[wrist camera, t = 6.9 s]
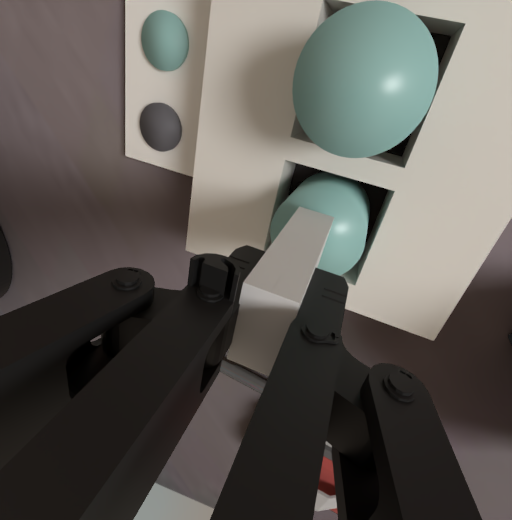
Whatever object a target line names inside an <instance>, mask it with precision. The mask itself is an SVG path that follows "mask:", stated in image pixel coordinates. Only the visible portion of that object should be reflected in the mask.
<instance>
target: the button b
mask: <svg viewBox="0 0 512 520" xmlns="http://www.w3.org/2000/svg"><path fill="white" fill-rule="evenodd" d="M437 81H438V56H437V50H436V47H435V44H434V41H433V38H432V36H431V34H430V32H429V30H428V29H427V27H426V26H425V25H424V23H423V22H422V21H421V20H420V19H419V18H418V17H417V16H416V15H415V14H414V13H413V12H411V11H410V10H408V9H407V8H405V7H403V6H400V5H398V4H395V3H391V2H388V1H378V0H375V1H364V2H360V3H355V4H353V5H350V6H347V7H345V8H343V9H341V10H339V11H337V12H336V13H334V14H333V15H332V16H330V17H329V18H327V19H326V20H325V21H324V22H323V23H322V24H321V25H320V26H319V27H318V28H317V29H316V30H315V31H314V32H313V34H312V35H311V36H310V38H309V39H308V41H307V42H306V44H305V46H304V48H303V49H302V51H301V54H300V56H299V58H298V61H297V64H296V68H295V71H294V77H293V87H292V94H293V104H294V109H295V112H296V116H297V119H298V121H299V123H300V125H301V127H302V128H303V130H304V132H305V133H306V134H307V136H308V137H309V138H310V139H311V140H312V141H313V142H314V143H315V144H316V145H317V146H319V147H320V148H322V149H323V150H325V151H327V152H329V153H331V154H334V155H337V156H341V157H346V158H364V157H369V156H374V155H377V154H380V153H382V152H385V151H387V150H389V149H391V148H392V147H394V146H396V145H397V144H399V143H400V142H401V141H403V140H404V139H405V138H407V137H408V136H409V135H410V134H411V133H412V132H413V131H414V130H415V128H416V127H417V126H418V125H419V123H420V122H421V121H422V119H423V117H424V116H425V114H426V113H427V111H428V109H429V107H430V105H431V102H432V100H433V97H434V94H435V90H436V86H437Z"/></svg>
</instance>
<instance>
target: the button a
mask: <svg viewBox="0 0 512 520" xmlns="http://www.w3.org/2000/svg"><path fill="white" fill-rule="evenodd" d="M299 206H300V207H303V208H306V209H309V210H313V211H316V212H319V213H322V214H325V215H329V216H332V217H334V220H333V223H332V226H331V229H330V232H329V235H328V238H327V241H326V244H325V246H324V249H323V252H322V255H321V258H320V261H319V264H318V267H317V268H319V269H322V270H324V271H327V272H330V273H333V274H336V275H339V276H340V275H342V274H344V273H346V272H347V271H349V270H350V269H351V268H352V267H353V266H354V265H355V264H356V263H357V262H358V260H359V259H360V257H361V255H362V253H363V251H364V248H365V242H366V236H367V229H368V222H369V216H370V202H369V198H368V196H367V193H366V191H365V190H364V188H363V187H362V186H361V184H360V183H359V182H358V181H357V180H354V179H350V178H347V177H343V176H340V175H336V174H333V173H329V172H326V171H325V172H320V173H317V174H314V175H312V176H310V177H309V178H307V179H306V180H304V181H303V182H302V183H301V184H300V185H299V186H298V187H297V188H296V190H295V191H294V192H293V193H292V194H291V195H290V196H289V197H288V198H287V199H286V200H285V201H284V202H283V203H282V204H281V205H280V207H279V208H278V209H277V211H276V212H275V214H274V217H273V219H272V222H271V228H270V235H271V242H272V243H273V241H274V240H275V239H276V237H277V236H278V235H279V233H280V232H281V231H282V229H283V228H284V227H285V225H286V224H287V223H288V221H289V220H290V218H291V217H292V216H293V214H294V213H295V212H296V210H297V209H298V208H299Z"/></svg>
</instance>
